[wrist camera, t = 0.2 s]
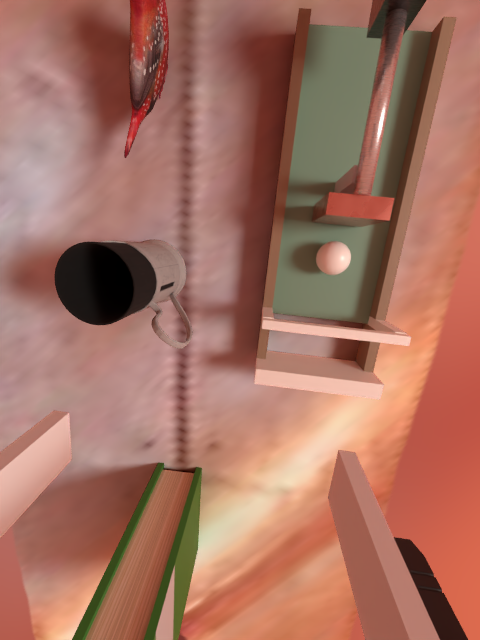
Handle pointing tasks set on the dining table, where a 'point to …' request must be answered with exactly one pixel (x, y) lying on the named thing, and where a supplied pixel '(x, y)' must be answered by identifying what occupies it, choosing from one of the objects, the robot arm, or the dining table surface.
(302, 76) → the pitch
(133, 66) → the decorative bird figurine
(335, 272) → the ball
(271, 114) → the dining table surface
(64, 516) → the dining table surface
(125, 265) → the glass holder
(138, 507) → the hardback book
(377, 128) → the foosball rod
